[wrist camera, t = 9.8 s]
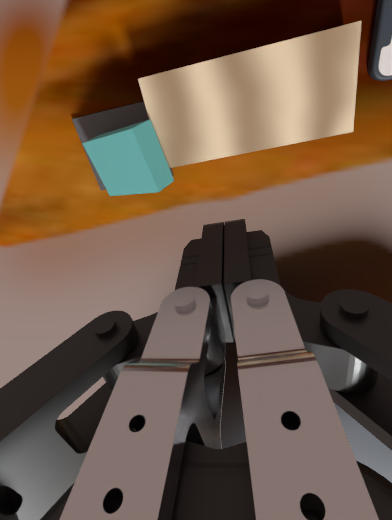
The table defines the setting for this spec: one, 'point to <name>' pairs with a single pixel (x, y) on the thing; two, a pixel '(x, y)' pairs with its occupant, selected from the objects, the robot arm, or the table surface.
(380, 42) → the phone case
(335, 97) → the board
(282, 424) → the robot arm
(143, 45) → the table surface
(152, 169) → the turquoise rectangular block
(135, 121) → the mat
